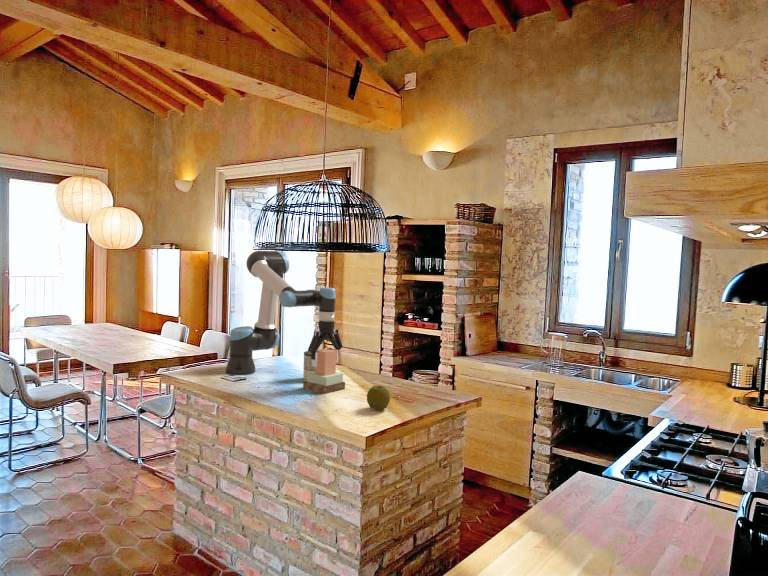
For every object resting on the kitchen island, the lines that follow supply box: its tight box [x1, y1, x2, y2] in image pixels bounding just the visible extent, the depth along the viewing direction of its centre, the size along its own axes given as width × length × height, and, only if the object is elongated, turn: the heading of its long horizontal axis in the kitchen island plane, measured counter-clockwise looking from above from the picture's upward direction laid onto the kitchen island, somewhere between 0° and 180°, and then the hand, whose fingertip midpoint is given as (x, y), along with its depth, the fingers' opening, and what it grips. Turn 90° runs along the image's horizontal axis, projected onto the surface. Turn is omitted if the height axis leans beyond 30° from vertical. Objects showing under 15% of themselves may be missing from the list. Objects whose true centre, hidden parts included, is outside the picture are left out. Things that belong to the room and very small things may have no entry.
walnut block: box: [302, 380, 346, 395], centre depth 272 cm, size 14×14×4 cm
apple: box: [366, 385, 391, 411], centre depth 241 cm, size 10×10×11 cm
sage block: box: [307, 371, 344, 386], centre depth 272 cm, size 12×12×4 cm
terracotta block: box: [315, 348, 337, 376], centre depth 271 cm, size 7×7×11 cm
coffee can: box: [302, 350, 315, 381], centre depth 289 cm, size 10×10×14 cm
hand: (325, 364), depth 271 cm, fingers open, 13 cm apart
